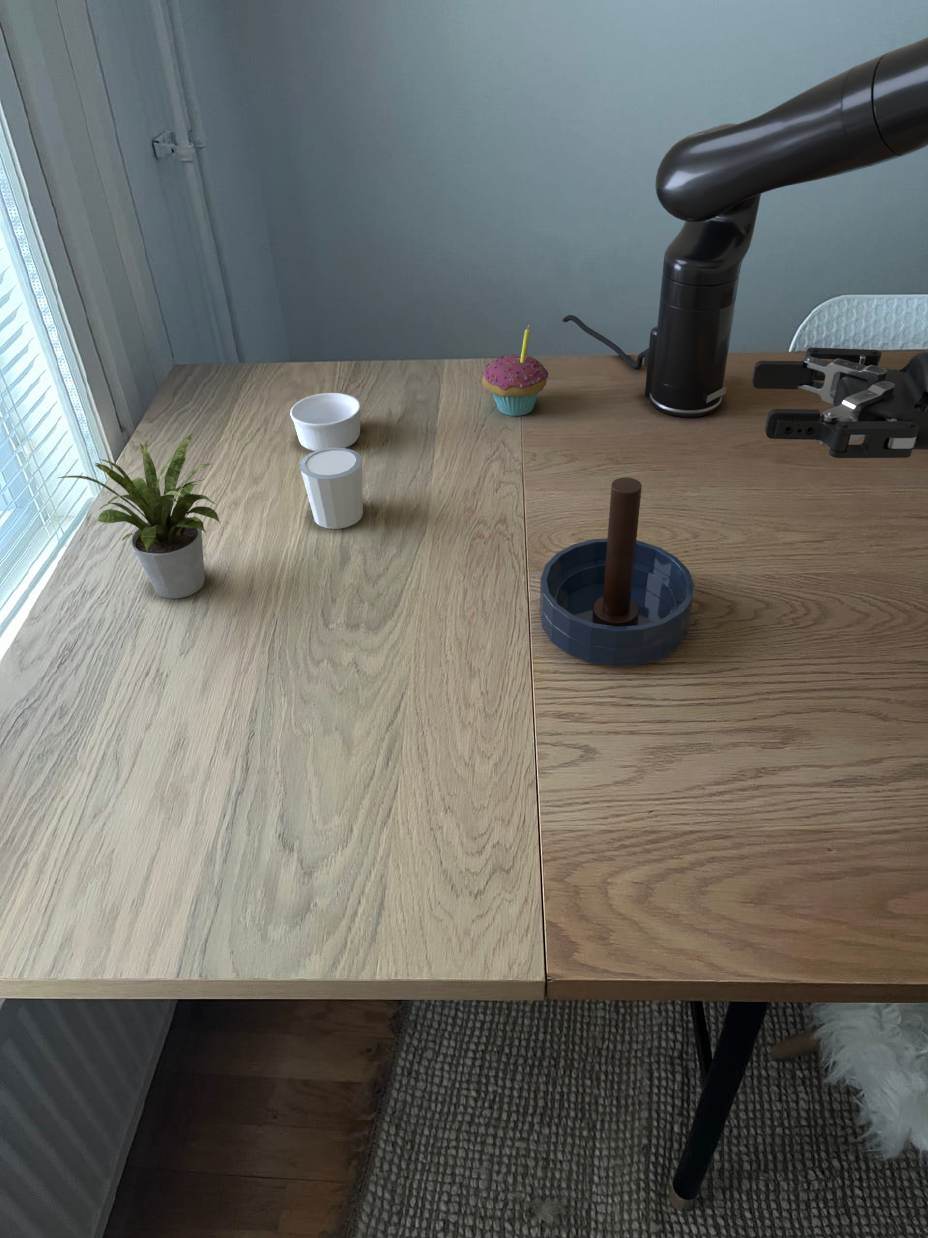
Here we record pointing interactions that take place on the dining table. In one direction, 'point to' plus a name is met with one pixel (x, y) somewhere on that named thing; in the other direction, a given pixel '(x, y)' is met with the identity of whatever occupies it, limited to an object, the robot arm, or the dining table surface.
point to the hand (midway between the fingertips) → (760, 398)
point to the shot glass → (334, 486)
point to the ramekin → (327, 421)
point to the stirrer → (620, 556)
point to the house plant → (162, 523)
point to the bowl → (580, 583)
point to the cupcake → (515, 381)
